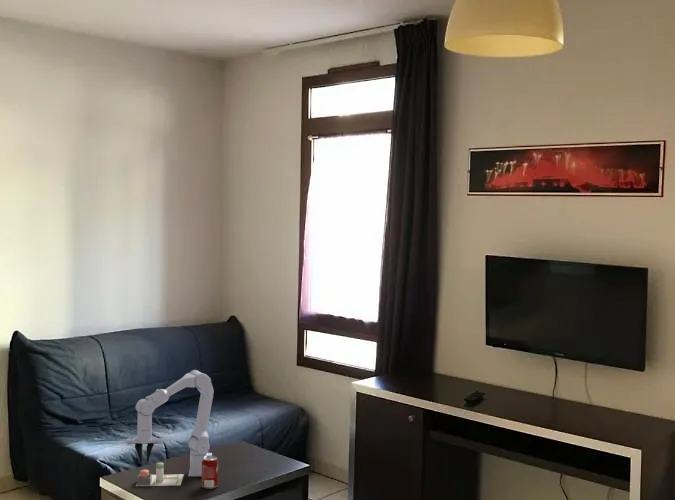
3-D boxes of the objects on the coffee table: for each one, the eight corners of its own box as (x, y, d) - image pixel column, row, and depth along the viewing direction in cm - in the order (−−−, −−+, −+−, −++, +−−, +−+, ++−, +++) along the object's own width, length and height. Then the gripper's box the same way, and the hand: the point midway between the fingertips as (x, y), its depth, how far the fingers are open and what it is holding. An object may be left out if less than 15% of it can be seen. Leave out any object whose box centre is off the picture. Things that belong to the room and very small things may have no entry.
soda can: (214, 490, 308) (214, 461, 307) (198, 488, 309) (199, 459, 309) (220, 484, 314) (220, 456, 314) (205, 483, 316) (205, 454, 315)
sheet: (183, 474, 325) (183, 474, 325) (180, 485, 312) (180, 484, 312) (141, 475, 323) (140, 474, 323) (135, 486, 311) (135, 485, 311)
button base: (151, 480, 317) (151, 473, 317) (149, 485, 312) (149, 478, 311) (139, 481, 316) (139, 473, 316) (136, 485, 311) (137, 478, 311)
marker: (163, 480, 318) (163, 462, 317) (163, 482, 315) (163, 464, 314) (156, 480, 317) (156, 462, 317) (155, 483, 314) (155, 465, 314)
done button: (149, 477, 316) (149, 469, 316) (148, 481, 312) (148, 472, 312) (140, 478, 315) (140, 469, 315) (139, 481, 312) (139, 472, 312)
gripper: (163, 425, 317) (163, 457, 318) (128, 426, 316) (128, 458, 317) (161, 430, 310) (161, 463, 311) (125, 431, 309) (125, 464, 310)
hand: (144, 461), depth 313 cm, fingers closed
